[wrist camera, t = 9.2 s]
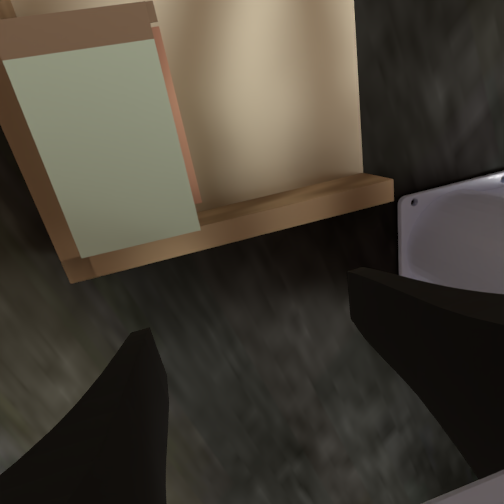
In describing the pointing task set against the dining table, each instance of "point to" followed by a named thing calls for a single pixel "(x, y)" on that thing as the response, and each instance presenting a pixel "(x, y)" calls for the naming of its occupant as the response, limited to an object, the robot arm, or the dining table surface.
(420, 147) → the dining table surface
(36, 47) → the sage block
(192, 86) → the corner arena
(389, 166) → the dining table surface
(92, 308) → the dining table surface
